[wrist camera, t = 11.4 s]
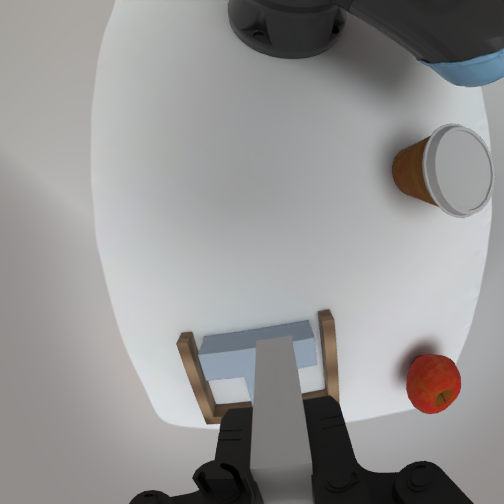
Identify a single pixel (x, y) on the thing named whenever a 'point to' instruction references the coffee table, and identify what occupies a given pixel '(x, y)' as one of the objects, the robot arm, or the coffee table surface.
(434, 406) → the apple
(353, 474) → the robot arm
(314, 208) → the coffee table surface
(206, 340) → the t block
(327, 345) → the walnut fence
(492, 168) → the disposable coffee cup
